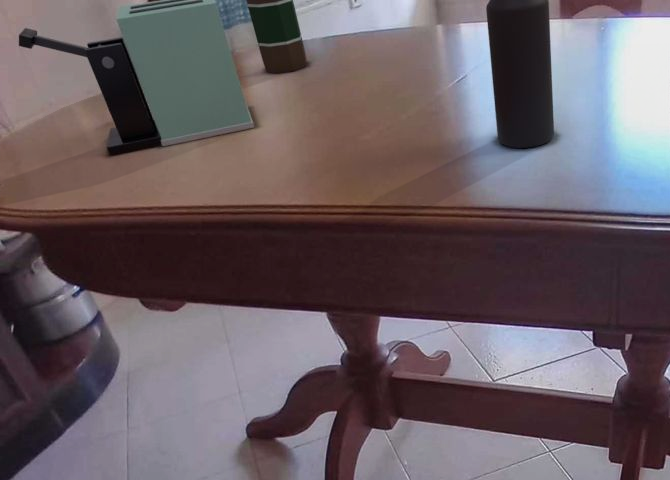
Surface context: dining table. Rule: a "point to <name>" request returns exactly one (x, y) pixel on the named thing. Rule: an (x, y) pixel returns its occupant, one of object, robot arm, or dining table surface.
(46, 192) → the dining table surface
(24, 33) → the toaster lever
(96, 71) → the lever bracket
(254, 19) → the beer bottle
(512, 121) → the vinegar
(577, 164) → the dining table surface
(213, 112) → the toaster
